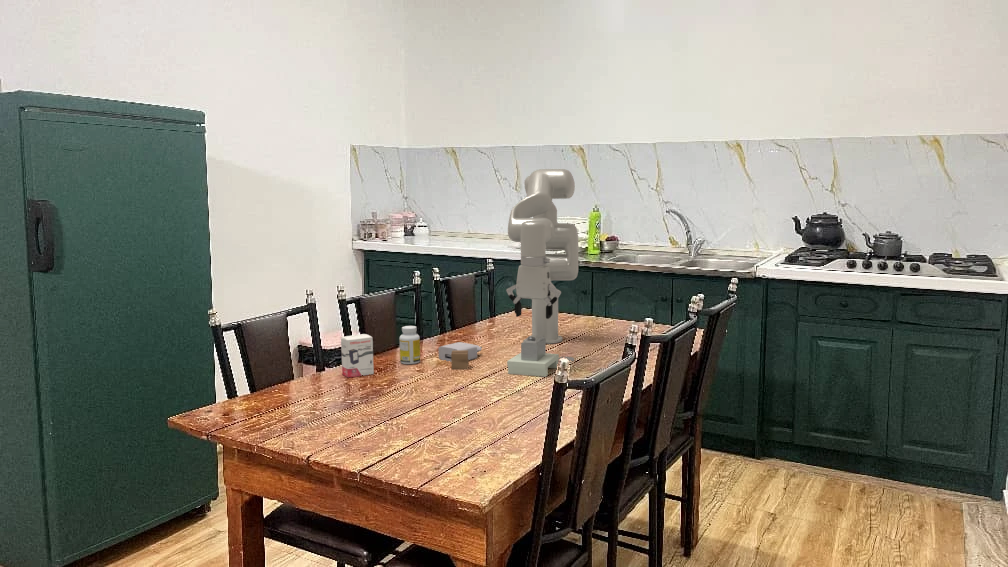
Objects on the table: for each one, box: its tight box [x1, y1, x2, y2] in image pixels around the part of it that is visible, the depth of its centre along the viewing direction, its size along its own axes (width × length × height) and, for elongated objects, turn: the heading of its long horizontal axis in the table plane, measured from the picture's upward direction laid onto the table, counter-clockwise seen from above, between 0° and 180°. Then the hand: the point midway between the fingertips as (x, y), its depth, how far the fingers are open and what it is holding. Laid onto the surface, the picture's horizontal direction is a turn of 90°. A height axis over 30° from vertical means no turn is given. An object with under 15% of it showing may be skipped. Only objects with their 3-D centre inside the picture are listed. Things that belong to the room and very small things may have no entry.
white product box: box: [340, 333, 375, 379], centre depth 244 cm, size 8×5×12 cm, turn 123°
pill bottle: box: [398, 325, 421, 365], centre depth 259 cm, size 6×6×12 cm
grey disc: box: [558, 356, 575, 362], centre depth 261 cm, size 5×5×1 cm
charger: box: [437, 341, 483, 363], centre depth 266 cm, size 5×9×15 cm
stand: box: [506, 352, 560, 378], centre depth 248 cm, size 14×12×4 cm
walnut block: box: [450, 350, 469, 371], centre depth 252 cm, size 5×5×5 cm
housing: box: [520, 334, 547, 361], centre depth 247 cm, size 9×5×7 cm, turn 160°
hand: (533, 316), depth 247 cm, fingers open, 9 cm apart
